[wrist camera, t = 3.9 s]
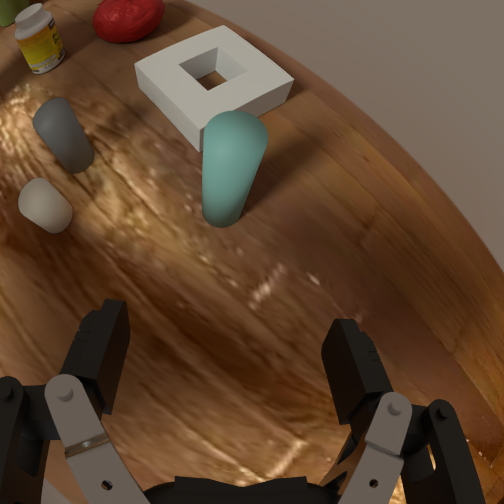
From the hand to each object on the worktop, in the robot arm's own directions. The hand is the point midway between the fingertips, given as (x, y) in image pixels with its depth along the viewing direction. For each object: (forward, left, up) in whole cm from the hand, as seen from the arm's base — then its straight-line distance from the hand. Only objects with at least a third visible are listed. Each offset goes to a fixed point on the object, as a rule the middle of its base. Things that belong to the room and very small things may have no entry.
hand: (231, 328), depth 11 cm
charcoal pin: (-1, +21, -15) cm, 26 cm away
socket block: (+15, +19, -15) cm, 29 cm away
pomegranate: (+14, +37, -15) cm, 43 cm away
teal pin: (+7, +7, -15) cm, 18 cm away
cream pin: (-6, +17, -15) cm, 24 cm away
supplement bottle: (+2, +41, -15) cm, 44 cm away
